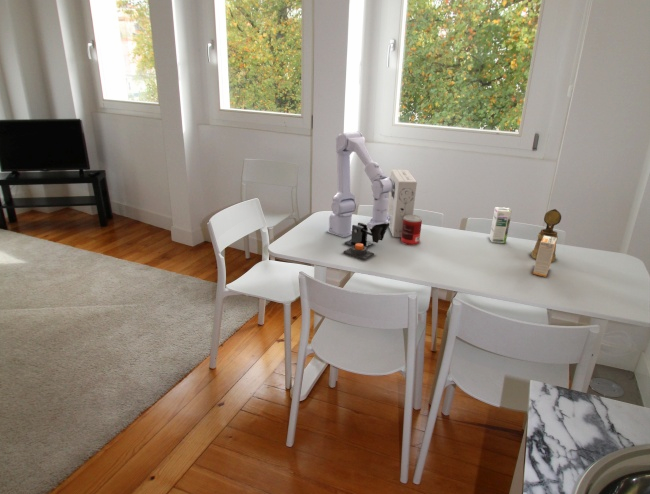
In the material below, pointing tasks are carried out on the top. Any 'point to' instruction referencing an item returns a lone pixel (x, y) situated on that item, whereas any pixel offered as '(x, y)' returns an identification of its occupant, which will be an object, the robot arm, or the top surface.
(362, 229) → the lever
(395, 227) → the cereal box
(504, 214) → the syrup box
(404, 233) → the canned food
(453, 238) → the top surface
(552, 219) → the brass disc-topped stand
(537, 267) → the supplement box
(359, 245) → the button
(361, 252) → the control block
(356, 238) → the bracket
